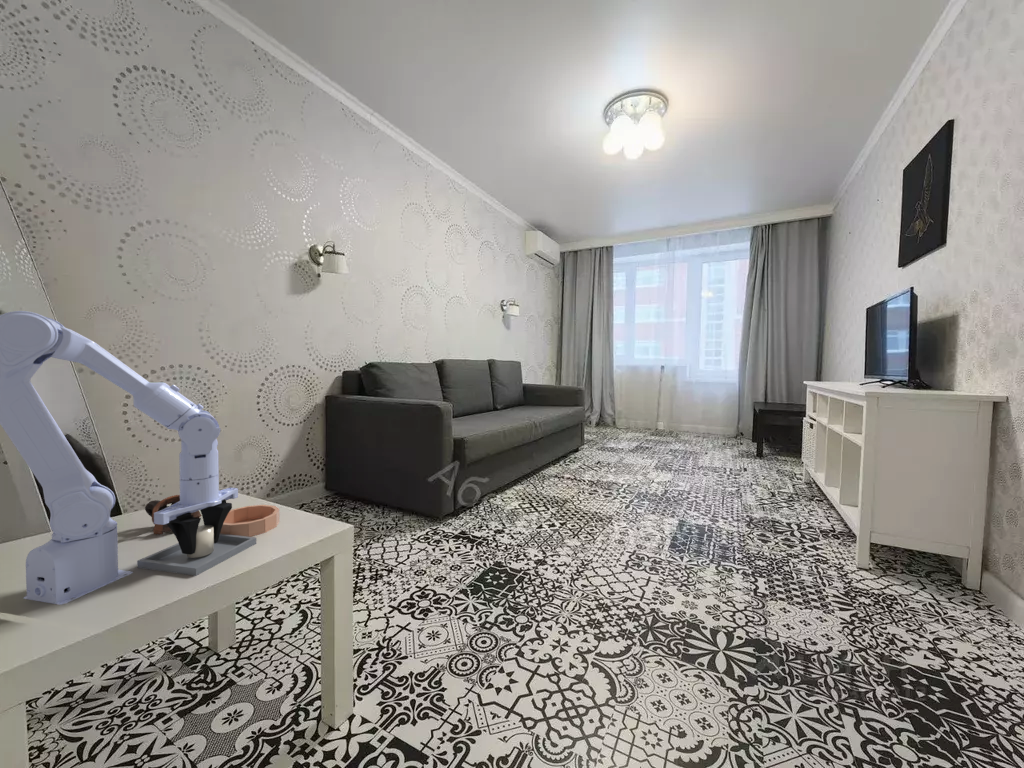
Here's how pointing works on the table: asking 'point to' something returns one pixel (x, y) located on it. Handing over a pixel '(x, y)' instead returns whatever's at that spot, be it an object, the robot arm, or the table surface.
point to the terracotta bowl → (251, 520)
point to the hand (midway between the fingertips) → (200, 547)
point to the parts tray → (182, 564)
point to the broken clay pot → (160, 505)
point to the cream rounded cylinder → (203, 541)
